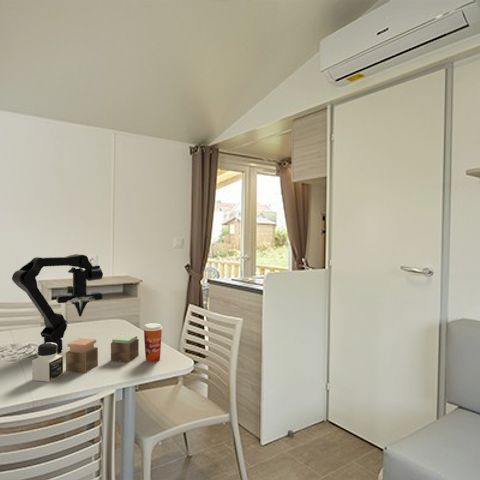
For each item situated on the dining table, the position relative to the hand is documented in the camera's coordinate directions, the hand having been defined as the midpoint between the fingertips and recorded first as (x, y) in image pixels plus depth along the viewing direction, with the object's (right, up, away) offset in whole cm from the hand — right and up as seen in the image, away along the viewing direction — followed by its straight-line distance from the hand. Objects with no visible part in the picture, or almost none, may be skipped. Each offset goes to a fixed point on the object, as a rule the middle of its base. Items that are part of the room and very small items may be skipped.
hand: (80, 316), depth 173 cm
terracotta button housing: (+13, -14, -29) cm, 35 cm away
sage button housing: (+26, -14, -17) cm, 34 cm away
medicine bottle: (+5, -14, -38) cm, 41 cm away
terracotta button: (+13, -11, -29) cm, 34 cm away
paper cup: (+38, -14, -19) cm, 45 cm away
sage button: (+26, -12, -18) cm, 34 cm away
